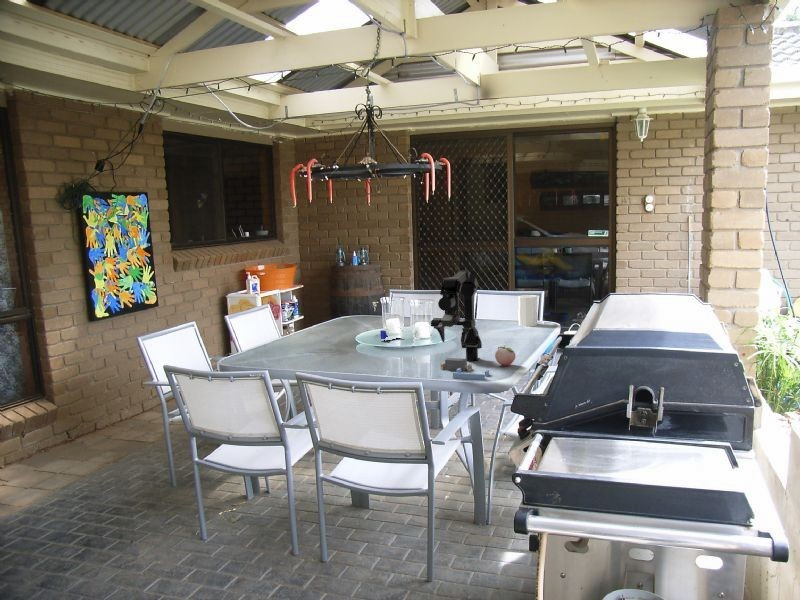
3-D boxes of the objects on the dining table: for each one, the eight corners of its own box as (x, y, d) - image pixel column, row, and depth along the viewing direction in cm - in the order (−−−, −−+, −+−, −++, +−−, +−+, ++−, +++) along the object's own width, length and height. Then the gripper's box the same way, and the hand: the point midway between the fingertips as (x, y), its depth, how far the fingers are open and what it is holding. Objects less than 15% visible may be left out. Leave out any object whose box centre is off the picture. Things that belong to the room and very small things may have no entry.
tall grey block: (448, 368, 285) (447, 357, 284) (467, 369, 281) (466, 358, 281) (445, 370, 281) (445, 359, 280) (464, 371, 278) (464, 360, 277)
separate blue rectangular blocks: (458, 373, 274) (458, 368, 274) (489, 375, 269) (489, 369, 268) (452, 378, 266) (452, 372, 266) (484, 380, 261) (484, 374, 261)
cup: (538, 324, 383) (538, 295, 380) (535, 328, 372) (535, 297, 370) (520, 324, 387) (519, 294, 384) (517, 327, 376) (516, 297, 374)
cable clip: (396, 337, 363) (395, 327, 362) (400, 338, 359) (400, 328, 358) (379, 340, 356) (378, 330, 355) (383, 341, 352) (383, 331, 351)
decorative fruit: (491, 367, 283) (490, 345, 282) (501, 363, 289) (500, 342, 288) (509, 370, 277) (508, 348, 275) (518, 366, 283) (518, 344, 281)
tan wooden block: (442, 368, 285) (442, 362, 285) (471, 369, 280) (471, 364, 280) (440, 369, 282) (440, 364, 282) (470, 371, 277) (469, 365, 277)
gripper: (425, 309, 265) (426, 345, 267) (467, 310, 257) (468, 347, 259) (434, 305, 275) (436, 340, 277) (475, 306, 267) (476, 342, 269)
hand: (453, 342), depth 270 cm, fingers open, 9 cm apart
